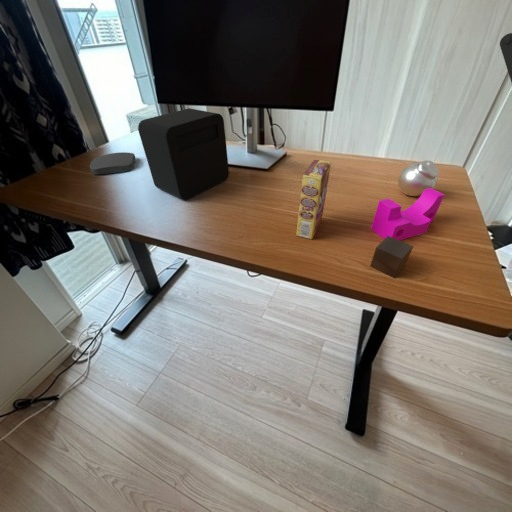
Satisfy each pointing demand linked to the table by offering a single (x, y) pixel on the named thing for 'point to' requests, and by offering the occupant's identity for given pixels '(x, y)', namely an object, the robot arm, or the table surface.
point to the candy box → (312, 198)
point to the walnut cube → (391, 256)
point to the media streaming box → (113, 163)
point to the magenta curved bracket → (406, 216)
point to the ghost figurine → (418, 178)
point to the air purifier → (185, 151)
